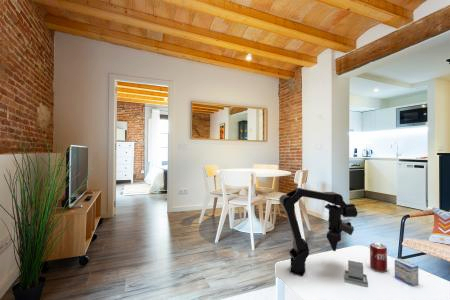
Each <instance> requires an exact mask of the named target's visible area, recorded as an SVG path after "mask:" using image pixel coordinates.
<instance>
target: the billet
mask: <svg viewBox="0 0 450 300" xmlns="http://www.w3.org/2000/svg"><path fill="white" fill-rule="evenodd" d="M347 265H348V266H347V267H348V268H347V271H348V277H349V278H352V279H357V280H361V281H363V274H364V263H363V262H360V261H353V260H350V259H349V260H347Z"/></svg>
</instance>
